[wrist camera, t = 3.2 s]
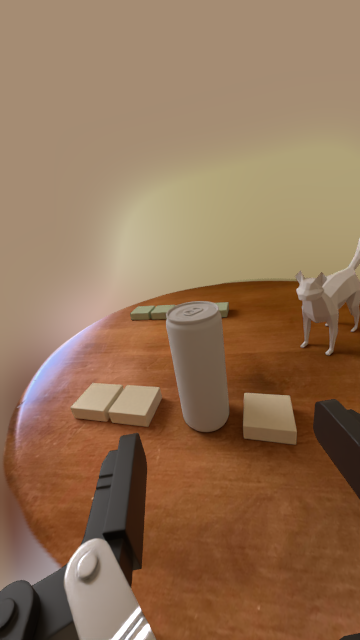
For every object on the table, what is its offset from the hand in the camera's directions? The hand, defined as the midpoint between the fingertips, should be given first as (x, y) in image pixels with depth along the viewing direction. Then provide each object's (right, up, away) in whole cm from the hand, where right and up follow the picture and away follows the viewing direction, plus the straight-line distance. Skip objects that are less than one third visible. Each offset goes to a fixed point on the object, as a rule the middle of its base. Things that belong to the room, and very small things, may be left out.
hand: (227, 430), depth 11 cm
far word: (-1, +6, +42) cm, 42 cm away
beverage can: (+1, -5, +14) cm, 15 cm away
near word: (-3, -5, +15) cm, 17 cm away
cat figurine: (+21, +3, +25) cm, 33 cm away
